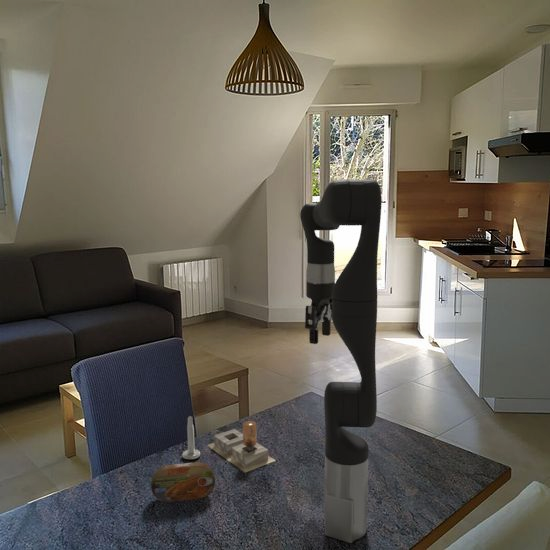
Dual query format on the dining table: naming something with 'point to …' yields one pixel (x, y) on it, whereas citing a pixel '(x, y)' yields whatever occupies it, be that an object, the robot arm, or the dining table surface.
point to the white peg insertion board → (240, 451)
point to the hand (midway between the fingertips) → (320, 339)
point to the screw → (190, 442)
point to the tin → (183, 482)
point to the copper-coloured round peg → (249, 435)
